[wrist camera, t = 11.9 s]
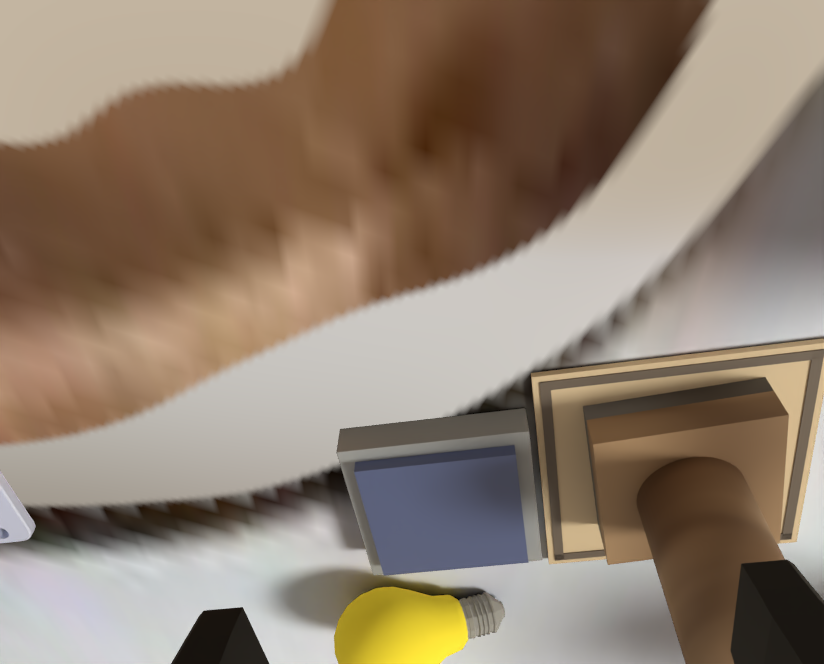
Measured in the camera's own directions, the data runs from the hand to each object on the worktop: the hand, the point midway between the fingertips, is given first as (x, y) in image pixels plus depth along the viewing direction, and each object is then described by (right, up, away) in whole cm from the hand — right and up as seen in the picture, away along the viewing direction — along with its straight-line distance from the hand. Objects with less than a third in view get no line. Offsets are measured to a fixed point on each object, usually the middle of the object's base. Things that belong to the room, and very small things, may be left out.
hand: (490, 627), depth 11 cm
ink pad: (0, 0, +12) cm, 12 cm away
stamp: (+7, +1, +11) cm, 13 cm away
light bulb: (-1, -5, +16) cm, 17 cm away
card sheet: (+7, 0, +11) cm, 13 cm away
